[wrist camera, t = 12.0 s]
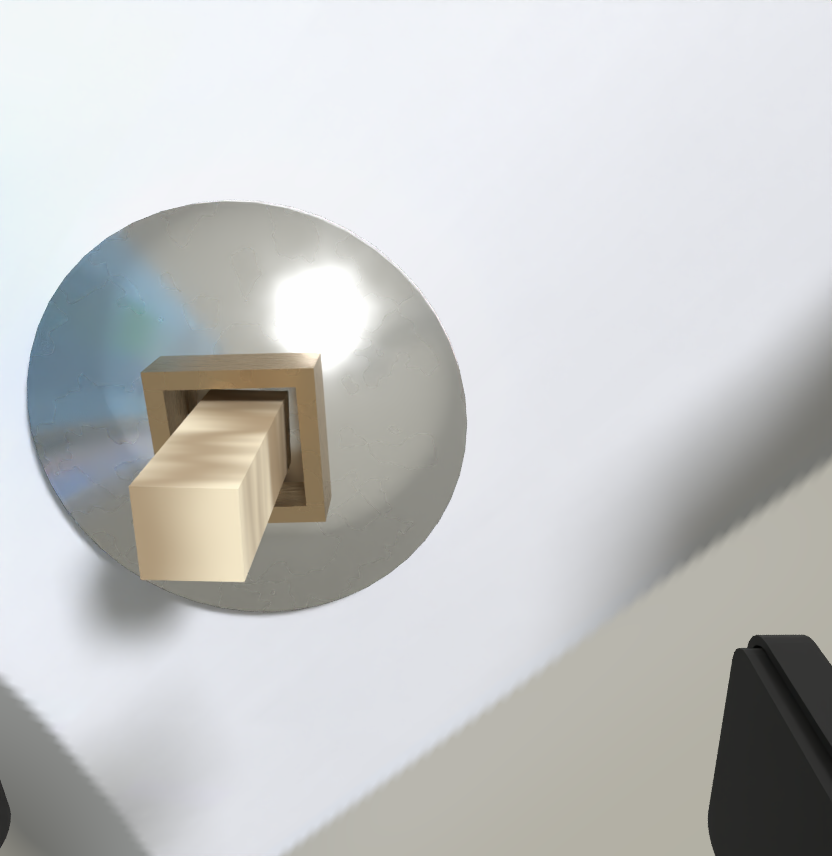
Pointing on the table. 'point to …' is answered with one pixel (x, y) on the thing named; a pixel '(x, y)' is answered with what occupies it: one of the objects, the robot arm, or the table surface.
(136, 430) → the rosette plate
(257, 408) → the tan block
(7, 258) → the table surface
